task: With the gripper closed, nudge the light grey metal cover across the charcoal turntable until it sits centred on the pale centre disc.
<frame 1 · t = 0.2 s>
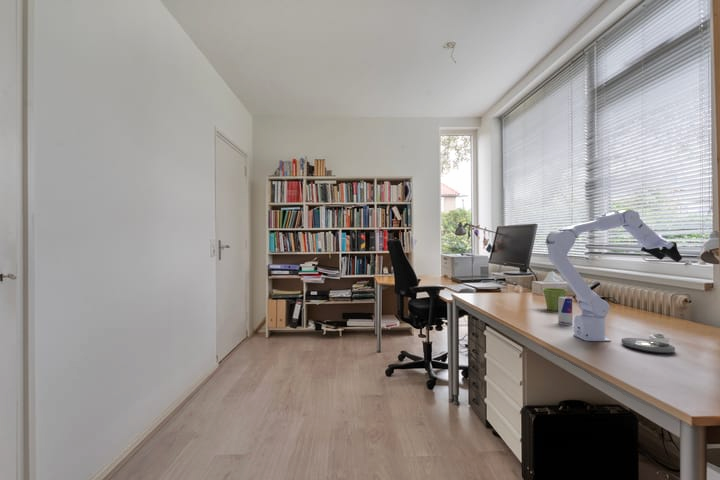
hand: (670, 258, 123), 31 cm above the table, tool tilted 45°, fingers open, 7 cm apart
energy drink: (565, 324, 147), on the table
cover: (659, 343, 113), point 2 cm above the table, touching turntable
turntable: (647, 348, 113), on the table
plant pot: (554, 310, 177), on the table
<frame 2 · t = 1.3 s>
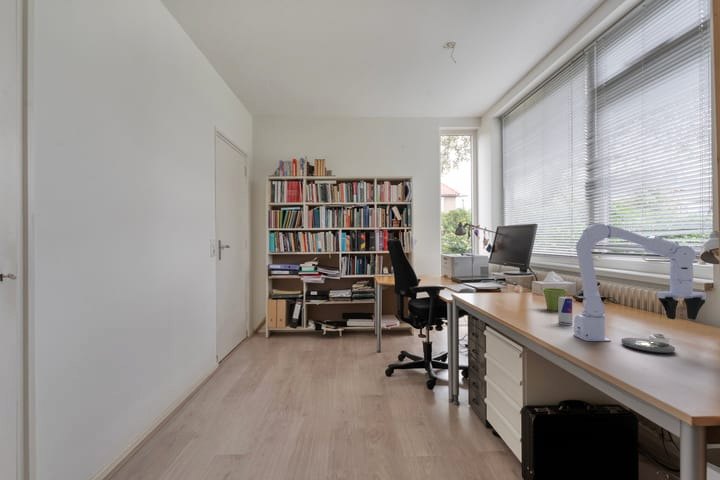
hand: (681, 318, 113), 10 cm above the table, tool pointing down, fingers open, 6 cm apart
nothing on the table moved.
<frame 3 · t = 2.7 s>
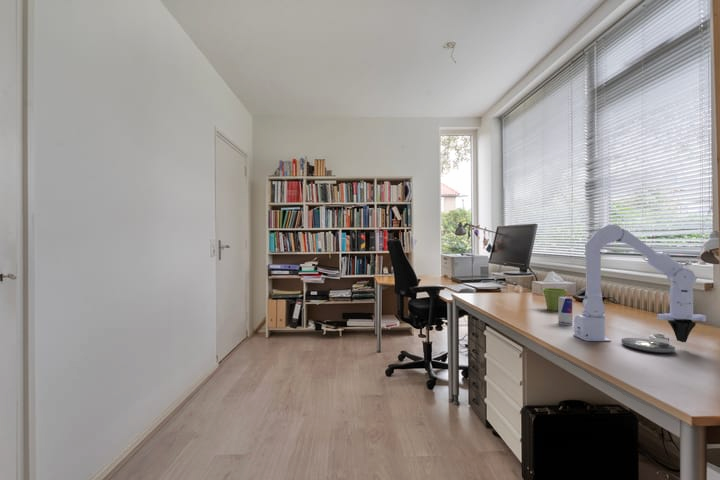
hand: (681, 341, 113), 3 cm above the table, tool pointing down, fingers closed
nothing on the table moved.
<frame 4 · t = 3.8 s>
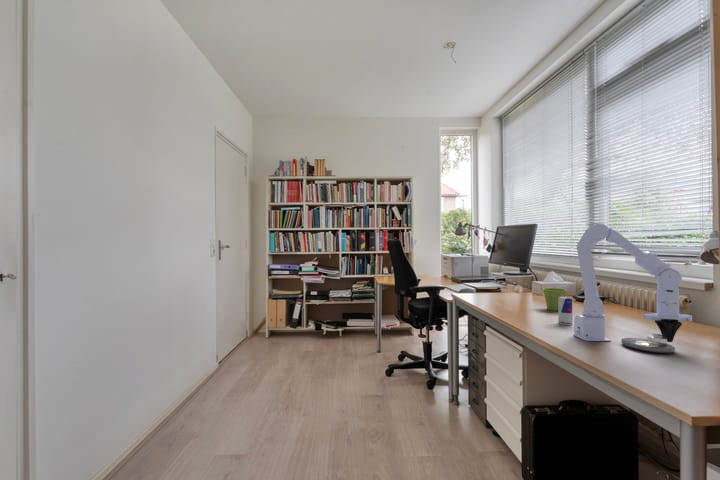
hand: (667, 341, 113), 3 cm above the table, tool pointing down, fingers closed
cover: (657, 343, 113), point 2 cm above the table, touching gripper
everything else where it was.
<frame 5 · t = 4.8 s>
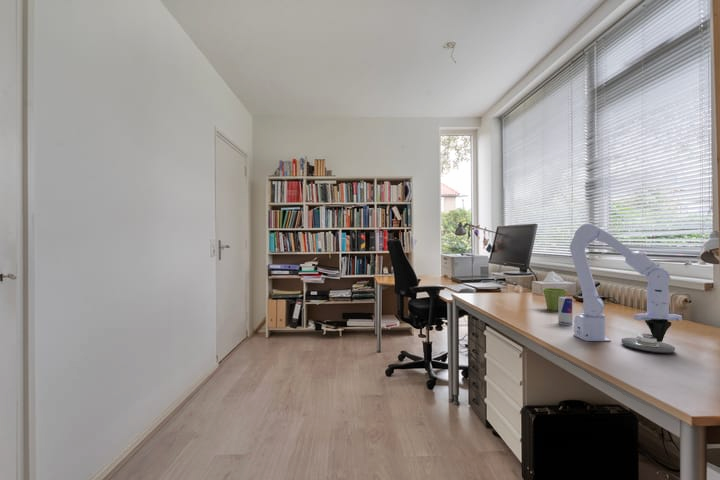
hand: (657, 341, 113), 3 cm above the table, tool pointing down, fingers closed
cover: (646, 343, 113), point 2 cm above the table, touching gripper, turntable
everything else where it was.
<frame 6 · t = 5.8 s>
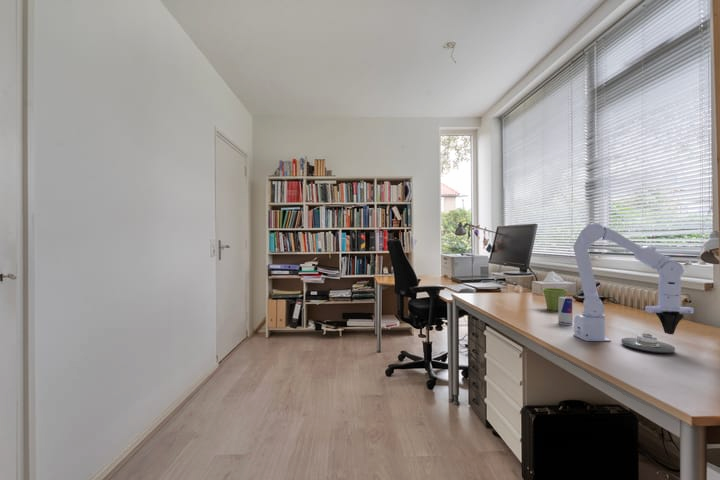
hand: (669, 333, 113), 5 cm above the table, tool pointing down, fingers closed
cover: (646, 343, 113), point 2 cm above the table, touching turntable
everything else where it was.
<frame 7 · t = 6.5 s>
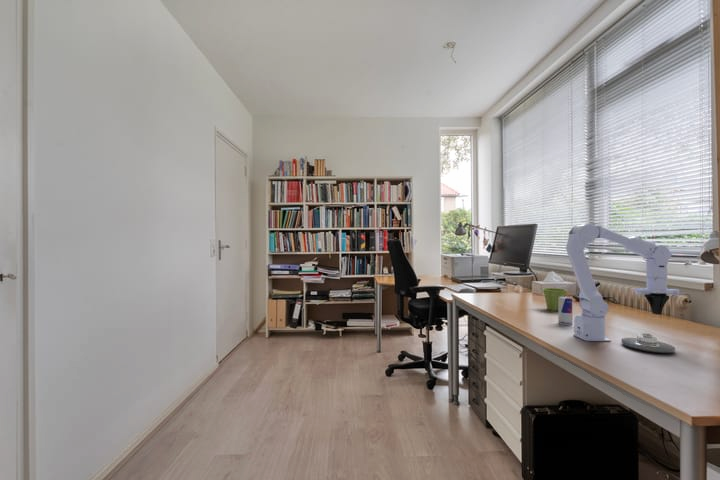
hand: (656, 313, 121), 10 cm above the table, tool pointing down, fingers closed
nothing on the table moved.
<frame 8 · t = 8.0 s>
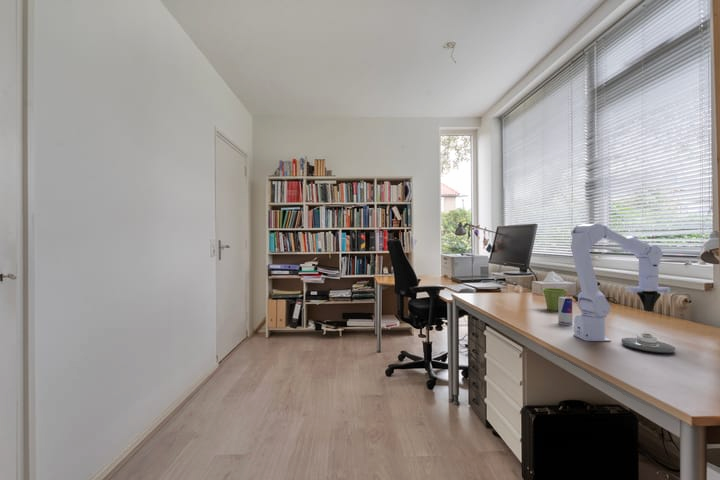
hand: (648, 310, 126), 10 cm above the table, tool pointing down, fingers closed
nothing on the table moved.
at the end: cover 0.1 cm from the turntable (horizontally); cover point 1.6 cm above the table; cover tilted 0° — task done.
